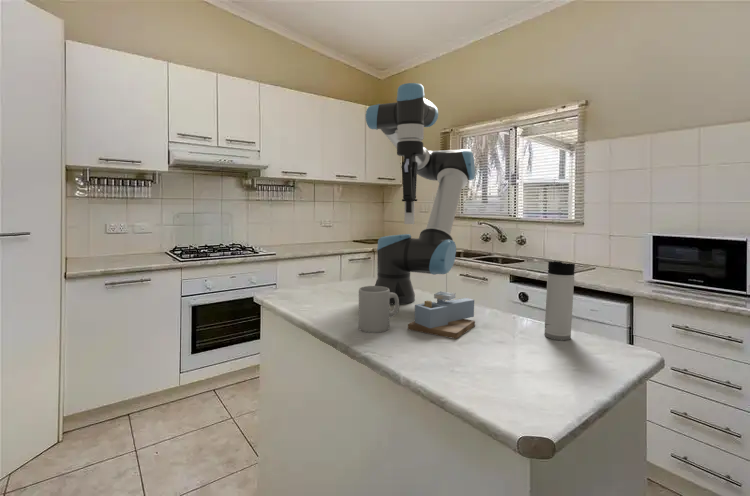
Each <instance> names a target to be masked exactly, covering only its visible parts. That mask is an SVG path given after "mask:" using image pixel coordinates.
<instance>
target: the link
mask: <svg viewBox="0 0 750 496" xmlns="http://www.w3.org/2000/svg"><path fill="white" fill-rule="evenodd" d="M424 303H425V302H424ZM424 303H417V304H415V305H414V321H415V323H417V324H420V325H423V326H425V327H428V328H434V327H439V326H444V325H448V322H451V321H456V320H461V319H469V318H474V316H475V299H472V298H469V297H464V298H463V297H462V298H457V299H456V298H455V299H451V300H445V302H439V303H437V302H435V301H432V308H429V307H426V306H424Z"/></svg>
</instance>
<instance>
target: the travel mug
mask: <svg viewBox="0 0 750 496" xmlns="http://www.w3.org/2000/svg"><path fill="white" fill-rule="evenodd" d="M575 266H576V264H575V263H570V262H569V263H568V262H567V263H566V262H565V263H564V262H562V261H556V260H555V261H548V264H547V267H548V268H547V277H546V279H547V282H546V297H545V319H544V334H543V335H544V337H546V338H547V339H550V340H554V341H555V340H556V341H569V340H570V339H571V337H572V321H573V307H574V306H573V305H574V287H575V269H576V267H575Z"/></svg>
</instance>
